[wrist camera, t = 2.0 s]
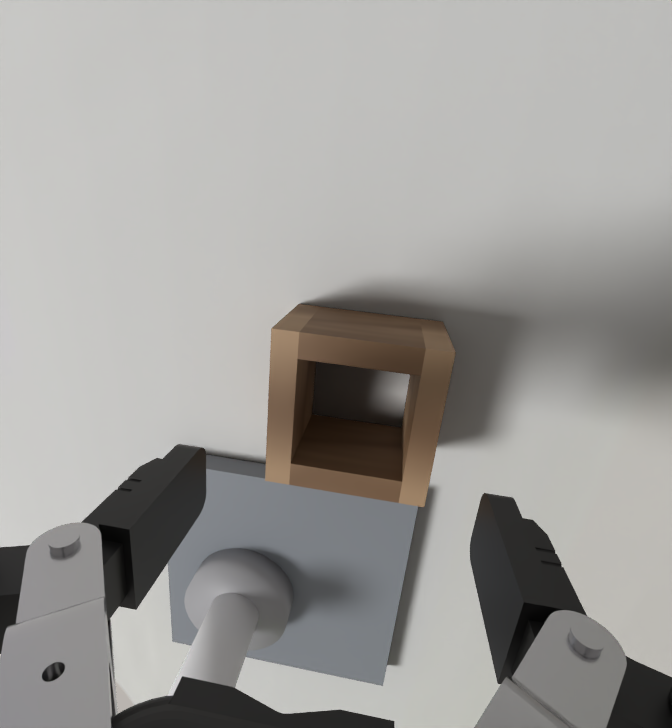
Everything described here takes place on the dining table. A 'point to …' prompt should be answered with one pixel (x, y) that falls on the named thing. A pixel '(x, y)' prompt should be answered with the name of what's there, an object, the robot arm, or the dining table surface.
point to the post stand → (287, 578)
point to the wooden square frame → (348, 437)
